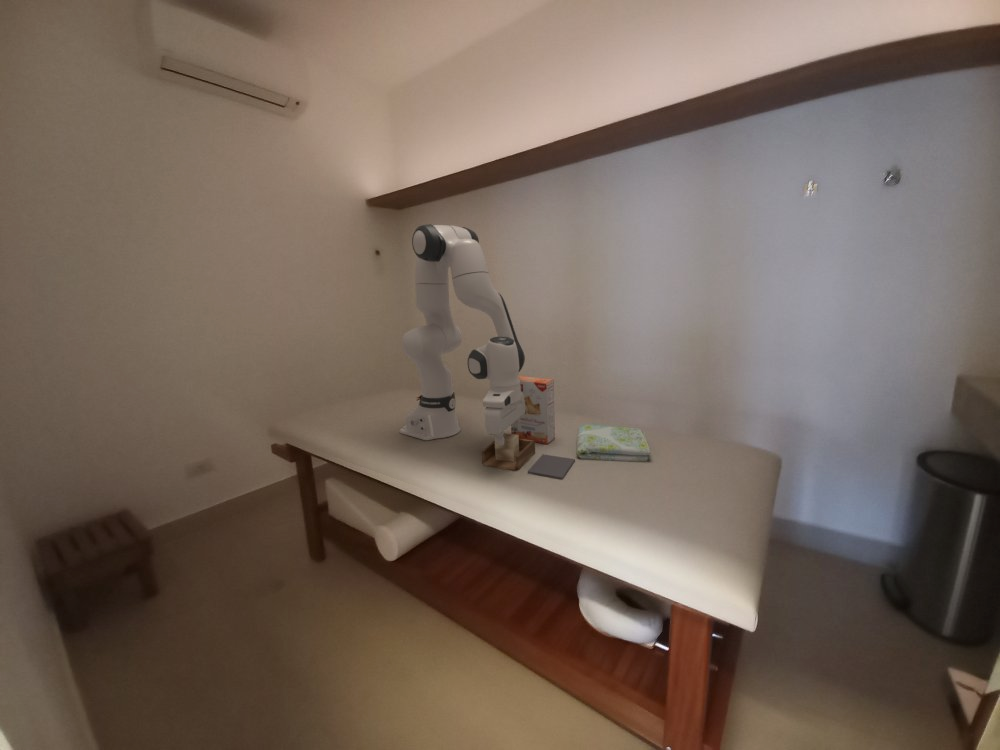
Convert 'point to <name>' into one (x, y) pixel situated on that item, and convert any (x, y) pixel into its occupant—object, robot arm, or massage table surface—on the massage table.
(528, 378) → the cracker box
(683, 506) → the massage table surface
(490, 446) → the shelf bay
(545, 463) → the mat
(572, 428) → the massage table surface
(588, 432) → the towel
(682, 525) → the massage table surface
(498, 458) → the block
